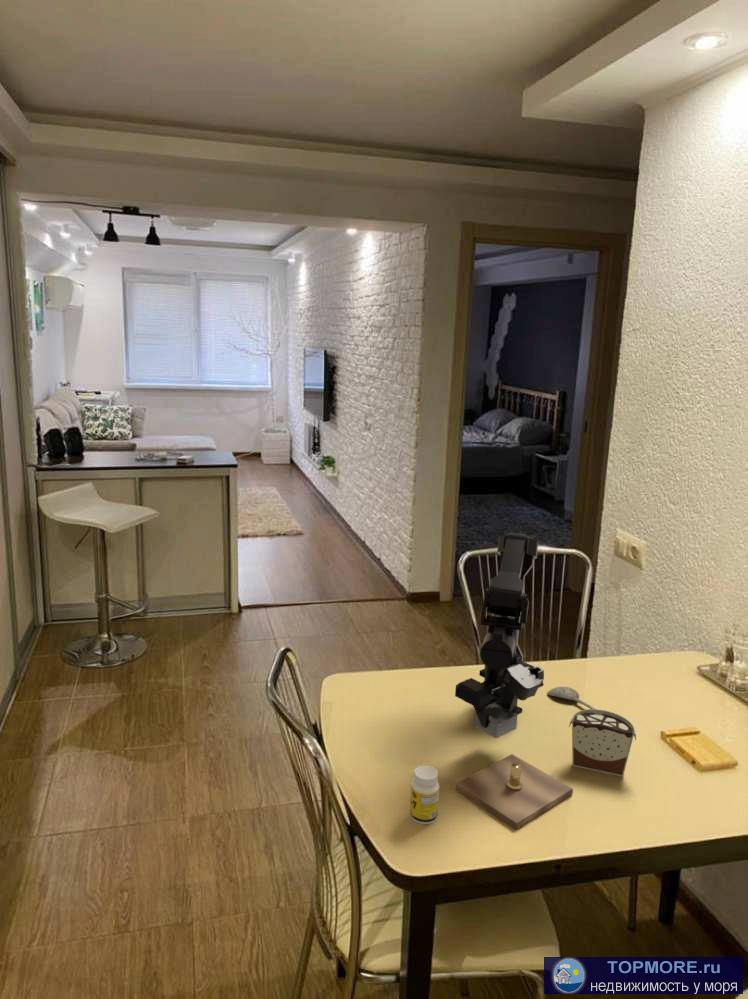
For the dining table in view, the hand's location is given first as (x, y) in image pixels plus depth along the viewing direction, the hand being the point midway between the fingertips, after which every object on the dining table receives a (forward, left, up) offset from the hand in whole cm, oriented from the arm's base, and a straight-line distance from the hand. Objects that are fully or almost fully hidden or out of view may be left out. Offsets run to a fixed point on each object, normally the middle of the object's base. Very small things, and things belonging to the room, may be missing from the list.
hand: (494, 722), depth 143 cm
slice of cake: (-14, +15, -7) cm, 22 cm away
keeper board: (+7, +11, -7) cm, 14 cm away
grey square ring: (0, 0, -1) cm, 1 cm away
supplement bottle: (+25, +6, -7) cm, 26 cm away
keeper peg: (+7, +11, -5) cm, 14 cm away
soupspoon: (-31, +1, -7) cm, 32 cm away
